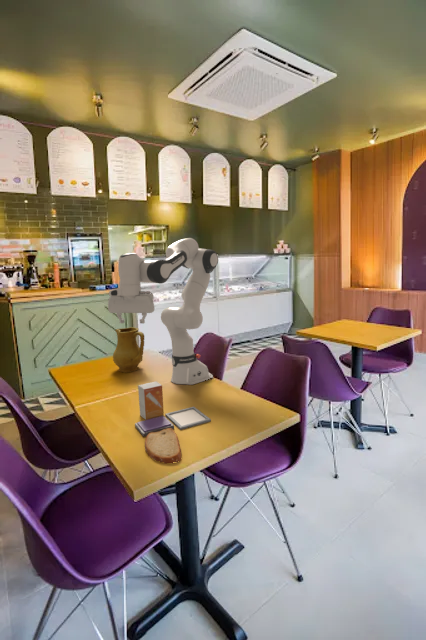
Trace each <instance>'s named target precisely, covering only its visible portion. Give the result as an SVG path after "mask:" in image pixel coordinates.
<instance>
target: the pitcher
mask: <svg viewBox="0 0 426 640" xmlns="http://www.w3.org/2000/svg"><path fill="white" fill-rule="evenodd" d="M114 330H115V331H114V332H116V336H117V337H116V339H117V344H116V347H115V350H114V351H113V354H112V361H113V362H114V364H115V366H117V367H118V372H120V373H130V372H131V373H133V372H135V371H138V370H139V369H140V367H139V365H140V363H142V361H143V355H144V349H145V348H144V347H145V334H144V332H143V331H139V328H137V327H133V326H130V327H124V328H117V329H114ZM137 336H139V338H140V339H139V341H140V344H138V342H137Z"/></svg>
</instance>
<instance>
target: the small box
mask: <svg viewBox="0 0 426 640" xmlns="http://www.w3.org/2000/svg"><path fill="white" fill-rule="evenodd" d="M137 388H138V401H139V403H138V404H139V415H140V416H141V417H142V418H143V419H145V420H149V419H153V418H156V417H160V416H165V413H164V397H163V396H164V394H163V385H162V384H161V383H160V382H158V381H152V382H147V383H144V384H139V385H137ZM145 420H144V421H145Z"/></svg>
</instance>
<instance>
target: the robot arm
mask: <svg viewBox="0 0 426 640" xmlns="http://www.w3.org/2000/svg"><path fill="white" fill-rule="evenodd" d="M165 257H166V259H156V260H146V259H143V258H142V257H140V256H139V255H138V253H136V252H128V253H123V254H121V255H120V256H119V258H118V265H117V268H118V270H117V271H118V276H119V287H117V288H114V289H112V290H109V291H108V295H109V298H107V299H108V300H107V310H108V312H109V313H110V314H116V316H117V318H118V320H119V324H124V323H125V318H123V317H122V315H123V314H141V316H142V317H141V318H139V324H145V323H146V322H145V319H146V317H147V314H152V313H154V311H155V303H154V299H155V298H154V293H153V292H151V291H149V290H148V291H147V290H146V291H144V290H142V287H141V283H142V284H143V283H144V284H146V283H147V284H150V283H152V284H160V285H161V284H164V283H166V282H167V281H168V280H169V279H170V277H171V276H172V275H173V273H174V272H175V271H177V270H178V269H180V268H181V267H183V268H186V269H192V273H191V275H190V277H189V278H188V279H187V281H186V284H185V286H184V288H183V290H182V292H181V299H182V300H183V303H182V306H169V307H166V308H164V309H163V310H162V311H161V314H160V320H161V323H163V325H164V326H165V328H166V330H167V331H168V334H169V336H170V340H171V348H172V350H171V351H172V354H171V364H172V374H171V379H170V382H172V383H173V384H177V385H189V386H190V385H191V386H192V385H195V384H198V383H199V384H200V383H203V382H205V380H206V381H209V380H211V379H210V378H212V379H213V378H214V375H213V374H212V373H210V372H209V369H208V365H206V364H204V363H203V362H201V360H198V359H200V358H201V354H199V353H195V352H194V339H193V337H192V336H191V335H190V334H189V333H188V331H187V330H197V329H199V328H200V327H201V325H202V324H203V314H202V312H201V310H200V309H201V308H200V307H201V303H202V300H203V299H204V296H205V294H206V292H207V290H208V286H209V284H210V281H211V273H213V271H214V270H215V269H216V267H217V265H218V263H219V256H218V254H217V252H216V250H214V249H210V248H207V249H206V248H200V247H199V244H198V242H197V241H196V240H195V239H194V238H192V237H187V238H182V239H179V240H177V241H175V242H173V243H172V244H170V245H169V246H168V247H167V248H166V250H165ZM208 379H209V380H208Z"/></svg>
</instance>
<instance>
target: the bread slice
mask: <svg viewBox="0 0 426 640" xmlns="http://www.w3.org/2000/svg"><path fill="white" fill-rule="evenodd" d="M145 437H146V438H145V441H144V450H145V452H146V454H147V455H148V456H149V457H150V458H151V459H152V458H153V459H152V460H154V461H155V460H156V462H158V461H160V462H159V463H161V462H164V463H163V464H167V463H172V464H174V463H173V462H177V463H179V462H181V461H182V459H181V458H182V457H181V456H182V449H181V446H180V445H181V444H180V441H179V440H180V439H179V437H178V435H177V434H176V432H175V430H174V428H173V429H172V428H167V429H163V430H161V431H159V432H151V433H149V434H148V435H147V436H145ZM180 460H181V461H180ZM178 461H179V462H178Z"/></svg>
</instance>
